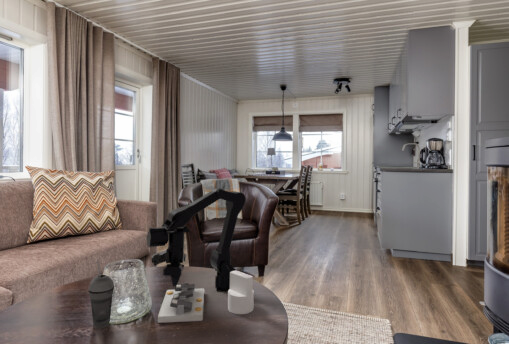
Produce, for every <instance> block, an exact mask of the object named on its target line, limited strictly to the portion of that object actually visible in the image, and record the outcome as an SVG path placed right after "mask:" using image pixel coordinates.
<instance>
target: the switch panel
mask: <svg viewBox="0 0 509 344" xmlns="http://www.w3.org/2000/svg"><path fill="white" fill-rule="evenodd" d="M182 284H189V282H182ZM185 291H187V288H182V290H181V291H175V289H166V292H165V295H164V298H163V301H162V304H161V305H160V309H159V312H158V316H157V324H159V323H160V324H162V323H164V324H165V323H182V322H201V321H203V319H204V303H205V288H204V287H201V288H195V289H194V295H193V297H189V298H186V296H180V298H179V300H183V301H188V302H192V303H193V304H192V310H191V311H189V310H184V305H178V306H177V308H175V307H170V304H171V301H172V298H173V296H174V295H175V294H178V293H181V292H185Z"/></svg>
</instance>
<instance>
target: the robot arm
mask: <svg viewBox="0 0 509 344" xmlns="http://www.w3.org/2000/svg"><path fill="white" fill-rule="evenodd" d="M219 200H223V201H225V210H226V213H225V218H224V222H223V226H222V229H221V234H220V239H219V242H218V246H217V247H216V249H212V250H211V253H210V254H211V255H210V257H209V260H210V265H211V266H212V268H213V269H214V271H215V272H216V275H214V276H215V278H214V280H215V281H214V284H215V285H214V288H215V290H216V291H217V292H228V290H229V289H230V272H232V271H235V270H236V268H235V267H233V266H232V265H231V261H232V257H231V245H232V242H233V237H234V233H235V229H236V225H237V221H238V216H239V214H240V213H241V211H243V209H244V207H245V204H246V202H247V201H246V200H247V197H246V195H245V194H244V193H243V192H241V191H234V190H232V191H228V190H224V189H222V188H218V187H215V188H213V189H211V190H210V191H209V192H207V193H206V194H204V195H202V196H201V197H199V198H197V199H196V200H194V201H192V202H191V203H189V204H187V205H183V206H180V207H178V208H174V209H173V210H171V211H169V212H168V214H167V217H166V220H165V221H164V222H163V224H162V225H161V226H160V227H148V231H147V233H146V246H147V247H148V248H154V247H156V248H157V247H165V246H166V245H167V248H166V249H165V250H162V251H159V252H156V253H154V254H152V255H151V257H150V258H151V263H152V264H153V266H154V267H155V266H158V265H159V264H162V263H165V264H166V265H165V266H164V267H163V270H162V271H163V272H162V275H163V276H165V277H167V276H168V277H169V276H170V279H171V284H172V287H176V285H177V284H178V283H179V280H180V278H181V276H182V274H183V271H184V267H185V264H184V262H186V260H187V254H185V233H190V232H191V229H189V227H188V226H187V225H186V224H188V223H190V221H191V220H192V219H193V217H194V216H195V215H196V214H199V212H202V211H203V210H205V209H206V208H208V207H210V206H211V205H212V204H214V203H216V202H218V201H219Z"/></svg>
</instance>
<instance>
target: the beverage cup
mask: <svg viewBox="0 0 509 344" xmlns="http://www.w3.org/2000/svg"><path fill="white" fill-rule="evenodd" d="M96 264H97V273H98V274H97V275H96V276H95V277H94V278H92V280H91V281H90V283H89V285H88V295H89V298H90V306H91V307H90V308H91V316H92V318H91V319H92V323H93V328H94V329H97V330H101V329H105V328H107V327H108V326H110V324H109V322H110V321H111V317H110V316H111V315H112V306H113V304H112V302H113V293H114V289H115V285H114V284H115V283H114V281H113V279H112V277H110V276H109V275H107V274H101V269H100V261H99V260H97V263H96Z"/></svg>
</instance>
